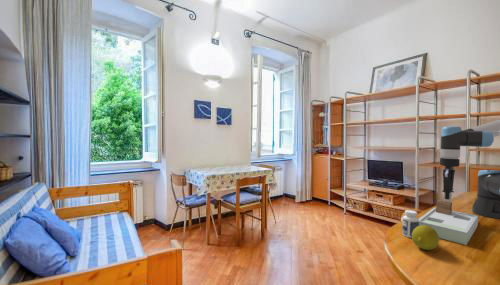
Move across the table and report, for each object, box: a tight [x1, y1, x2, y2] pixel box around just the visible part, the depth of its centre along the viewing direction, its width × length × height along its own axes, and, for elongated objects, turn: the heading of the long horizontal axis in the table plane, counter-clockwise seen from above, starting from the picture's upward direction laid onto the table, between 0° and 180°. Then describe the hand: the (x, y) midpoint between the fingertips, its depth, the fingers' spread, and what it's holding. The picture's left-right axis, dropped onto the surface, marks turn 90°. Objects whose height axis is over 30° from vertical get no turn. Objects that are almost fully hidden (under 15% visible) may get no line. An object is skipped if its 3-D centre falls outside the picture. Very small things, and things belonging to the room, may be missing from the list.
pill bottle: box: [401, 209, 419, 239], centre depth 97 cm, size 5×5×10 cm
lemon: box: [411, 225, 440, 251], centre depth 87 cm, size 11×8×8 cm
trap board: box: [418, 206, 479, 246], centre depth 106 cm, size 30×16×5 cm, turn 131°
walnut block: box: [435, 199, 453, 215], centre depth 115 cm, size 5×5×5 cm
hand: (447, 205), depth 120 cm, fingers closed
